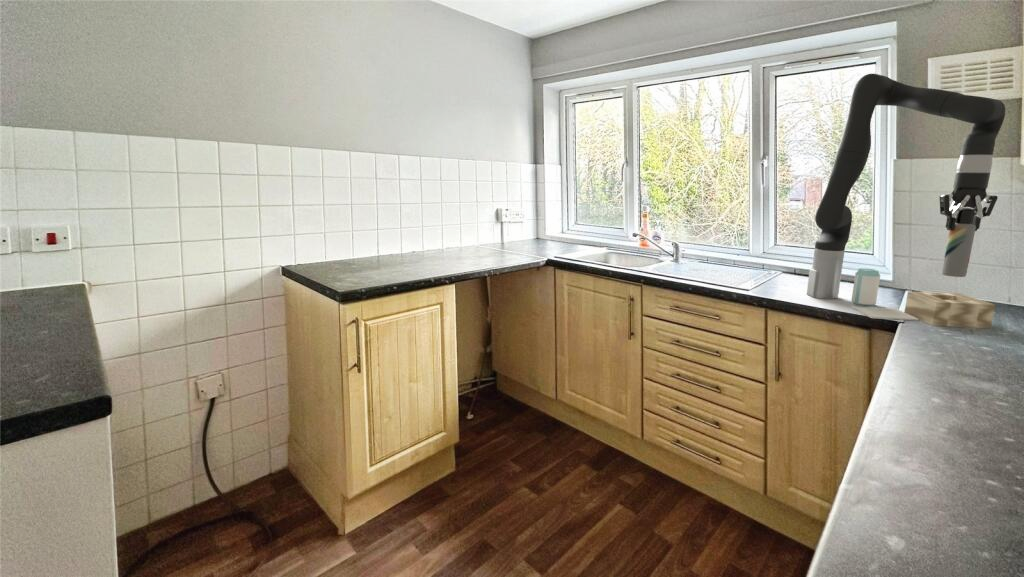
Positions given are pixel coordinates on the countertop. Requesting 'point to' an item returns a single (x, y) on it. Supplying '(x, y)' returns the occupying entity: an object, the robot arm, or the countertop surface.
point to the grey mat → (885, 313)
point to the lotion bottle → (959, 244)
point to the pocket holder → (949, 309)
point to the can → (865, 287)
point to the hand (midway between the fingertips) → (961, 230)
